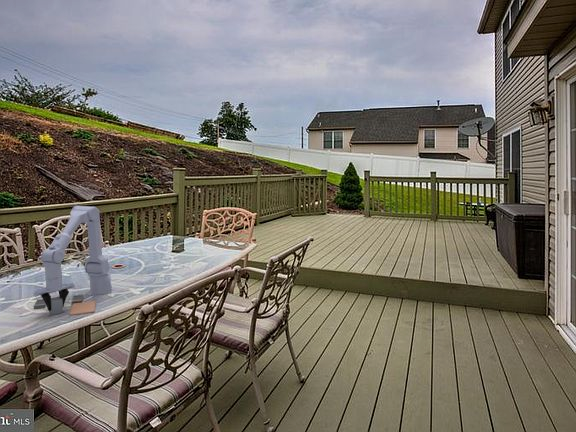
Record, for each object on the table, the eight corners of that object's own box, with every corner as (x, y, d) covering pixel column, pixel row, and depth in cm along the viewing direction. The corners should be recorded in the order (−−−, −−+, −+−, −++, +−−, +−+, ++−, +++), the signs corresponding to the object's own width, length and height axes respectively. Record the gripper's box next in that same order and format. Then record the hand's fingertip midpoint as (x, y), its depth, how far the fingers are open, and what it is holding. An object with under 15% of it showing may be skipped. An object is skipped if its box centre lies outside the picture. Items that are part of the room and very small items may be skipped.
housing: (83, 297, 167) (83, 294, 167) (82, 303, 160) (81, 299, 160) (37, 302, 159) (37, 299, 159) (33, 309, 152) (33, 305, 152)
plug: (55, 307, 155) (55, 293, 154) (63, 312, 150) (62, 298, 149) (45, 309, 152) (44, 296, 151) (52, 315, 147) (51, 301, 146)
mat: (95, 302, 162) (95, 300, 162) (94, 312, 150) (94, 311, 150) (72, 304, 158) (72, 303, 158) (69, 315, 147) (69, 314, 146)
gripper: (69, 271, 156) (71, 301, 157) (29, 279, 145) (32, 311, 146) (75, 275, 151) (77, 305, 153) (35, 282, 140) (37, 315, 142)
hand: (55, 308), depth 149 cm, fingers closed on plug, 4 cm apart
